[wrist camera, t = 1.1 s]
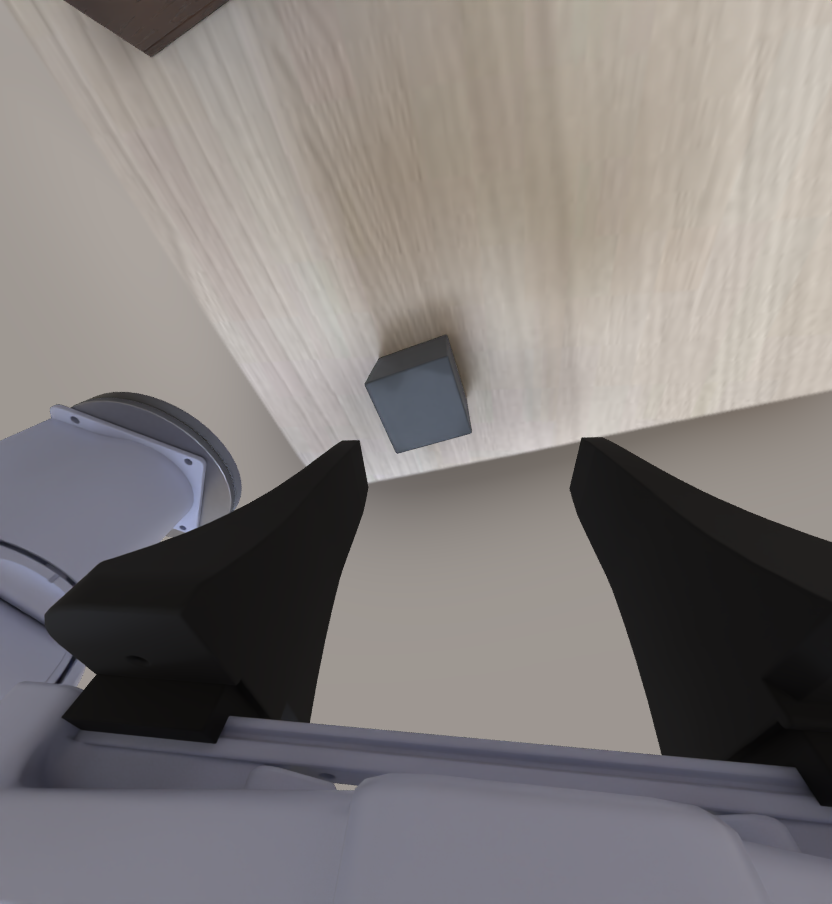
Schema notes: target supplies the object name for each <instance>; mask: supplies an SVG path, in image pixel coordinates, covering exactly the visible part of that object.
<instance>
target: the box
mask: <svg viewBox="0 0 832 904" xmlns="http://www.w3.org/2000/svg"><path fill="white" fill-rule="evenodd" d="M64 1H66V2H67V3H69V4H70V5H72V6H73V7H75V8H76V9H78V10H79V11H81V12H82V13H84V14H86V15H87V16H89V17H90V18H92V19H93V20H95V21H96V22H98V23H99V24H101V25H102V26H104V27H106V28H107V29H109V30H110V31H112V32H113V33H115V34H116V35H118V36H119V37H121V38H122V39H124V40H125V41H127V42H129V43H130V44H132V45H133V46H135V47H136V48H138V49H139V50H141V51H143V52H144V53H145V54H147V55H148V56H150V57H151V56H153V55H154V54H156V53H157V52H158V51H160V50H161V49H162V48H164V47H165V46H167V45H168V44H169V43H171V42H172V41H173V40H175V39H176V38H178V37H179V36H180V35H182V34H183V33H184V32H186V31H187V30H189V29H190V28H191V27H193V26H194V25H195V24H197V23H198V22H200V21H201V20H202V19H204V18H205V17H206V16H208V15H209V14H211V13H212V12H213V11H215V10H216V9H217V8H219V7H220V6H222V5H223V4H224V3H226V2H227V1H228V0H64Z"/></svg>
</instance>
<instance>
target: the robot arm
mask: <svg viewBox="0 0 832 904" xmlns="http://www.w3.org/2000/svg"><path fill="white" fill-rule="evenodd" d="M50 414H51V419H48V420H46V421H44V422H41V423H39V424H37V425H35V426H32V427H30V428H28V429H26V430H23V431H21V432H19V433H17V434H15V435H12V436H10V437H7V438H5V439H3V440H1V441H0V904H832V542H829V541H827V540H824V539H820V538H818V537H814V536H812V535H809V534H806V533H804V532H801V531H798V530H795V529H792V528H790V527H787V526H784V525H782V524H779V523H776V522H774V521H771V520H768V519H766V518H763V517H761V516H758V515H756V514H753V513H751V512H748V511H746V510H743V509H741V508H739V507H737V506H734V505H732V504H730V503H727V502H725V501H723V500H720V499H718V498H716V497H714V496H712V495H710V494H708V493H705V492H703V491H701V490H699V489H697V488H695V487H693V486H691V485H689V484H687V483H685V482H684V481H681V480H680V479H677V478H676V477H674V476H672V475H670V474H668V473H666V472H665V471H662V470H661V469H659V468H657V467H656V466H654V465H652V464H650V463H648V462H647V461H645V460H643V459H641V458H640V457H638V456H636V455H634V454H633V453H631V452H629V451H627V450H626V449H624V448H622V447H620V446H619V445H617V444H615V443H613V442H611V441H609V440H607V439H605V438H602V437H590V438H581V442H580V446H579V451H578V455H577V459H576V463H575V468H574V472H573V476H572V480H571V485H570V492H571V495H572V499H573V503H574V505H575V508H576V512H577V515H578V517H579V519H580V522H581V524H582V526H583V528H584V530H585V532H586V535H587V536H588V539H589V541H590V543H591V545H592V547H593V549H594V551H595V553H596V555H597V558H598V560H599V562H600V564H601V566H602V568H603V570H604V572H605V574H606V576H607V579H608V581H609V583H610V586H611V588H612V590H613V593H614V596H615V599H616V601H617V604H618V607H619V610H620V613H621V616H622V619H623V622H624V624H625V627H626V631H627V634H628V637H629V640H630V643H631V646H632V649H633V652H634V655H635V659H636V661H637V666H638V669H639V672H640V676H641V679H642V683H643V686H644V689H645V693H646V696H647V700H648V704H649V708H650V711H651V715H652V719H653V723H654V727H655V730H656V735H657V738H658V742H659V746H660V750H661V754H662V755H653V754H641V753H630V752H620V751H609V750H597V749H587V748H576V747H565V746H555V745H554V746H553V745H543V744H532V743H522V742H510V741H500V740H488V739H478V738H467V737H456V736H444V735H434V734H423V733H412V732H411V733H410V732H401V731H390V730H379V729H368V728H357V727H346V726H335V725H324V724H313V723H310V718H311V713H312V706H313V701H314V696H315V689H316V684H317V679H318V674H319V669H320V663H321V659H322V654H323V649H324V644H325V639H326V634H327V630H328V626H329V621H330V617H331V612H332V608H333V604H334V600H335V595H336V592H337V588H338V584H339V580H340V577H341V573H342V570H343V567H344V564H345V562H346V558H347V556H348V553H349V551H350V548H351V545H352V542H353V540H354V537H355V534H356V531H357V529H358V526H359V523H360V520H361V517H362V514H363V511H364V507H365V502H366V497H367V492H368V483H367V478H366V472H365V467H364V462H363V456H362V451H361V446H360V440H350V441H341V442H339V443H338V444H336V445H335V446H333V447H332V448H331V449H329V450H328V451H327V452H325V453H324V454H323V455H321V456H320V457H319V458H317V459H316V460H315V461H313V462H312V463H311V464H309V465H308V466H307V467H305V468H304V469H303V470H301V471H300V472H298V473H297V474H295V475H294V476H293V477H291V478H290V479H288V480H286V481H285V482H284V483H282V484H281V485H279V486H278V487H276V488H274V489H273V490H271V491H270V492H268V493H267V494H265V495H263V496H261V497H259V498H257V499H256V500H254V501H252V502H250V503H249V504H247V505H245V506H243V507H241V508H239V509H237V510H235V511H233V512H231V513H228V514H226V515H224V516H222V517H220V518H218V519H216V520H214V521H212V522H210V523H207V524H205V525H203V526H200V527H199V523H200V515H201V507H202V498H203V490H204V482H205V473H206V465H207V464H206V461H205V460H204V459H203V458H202V457H200V456H197V455H195V454H192V453H189V452H187V451H184V450H181V449H179V448H176V447H173V446H171V445H168V444H165V443H163V442H160V441H157V440H155V439H152V438H149V437H147V436H144V435H141V434H139V433H136V432H133V431H131V430H128V429H125V428H123V427H120V426H117V425H115V424H112V423H109V422H107V421H104V420H101V419H99V418H96V417H93V416H91V415H88V414H85V413H83V412H80V411H77V410H74V409H72V408H69V407H66V406H64V405H60V404H57V405H54V406H52V407H50ZM189 459H190V460H191V461H190V460H189ZM172 529H176V530H179V531H182V532H185V533H183V534H181V535H178V536H175V537H173V538H170V539H168V540H165V541H162V542H160V541H161V540H162V539H163V538H164V537H165V536H166V535H167V534H168V533H169V532H170V531H171V530H172ZM86 666H87V667H88V668H89V669H90V670H91V671H93V672H94V673H95V674H97V675H96V676H95V677H94V678H93V679H92V681H91V682H90V683H89V684H88V685H87V687H86V688H85V689H84V690H82V689H80V688H77V685H78V683H79V682H80V680H81V678H82V676H83V674H84V671H85V667H86ZM334 783H339V784H348V785H357V787H356V788H355V790H336V787H335V785H334Z"/></svg>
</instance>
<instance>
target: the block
mask: <svg viewBox="0 0 832 904" xmlns="http://www.w3.org/2000/svg"><path fill="white" fill-rule="evenodd" d="M365 387H366V389H367V391H368V393H369V395H370V398H371V400H372V402H373V404H374V406H375V408H376V411H377V413H378V415H379V417H380V419H381V421H382V424H383V426H384V428H385V430H386V432H387V434H388V437H389V439H390V441H391V443H392V445H393V447H394V450H395V452H396V453H397V454H398V453H402V452H405V451H409V450H412V449H416V448H420V447H423V446H427V445H431V444H434V443H438V442H441V441H445V440H449V439H452V438H456V437H460V436H463V435H467V434H470V433H472V429H471V423H470V417H469V411H468V404H467V399H466V396H465V392H464V389H463V386H462V382H461V379H460V376H459V372H458V369H457V366H456V363H455V359H454V356H453V353H452V349H451V346H450V343H449V339H448V336H447V335H443V336H441V337H438V338H435V339H432V340H429V341H427V342H424V343H421V344H418V345H415V346H413V347H410V348H407V349H404V350H401V351H398V352H396V353H393V354H390V355H387V356H384V357H382V358H379V359H378V361H377V363H376V364H375V366H374V368H373V370H372V371H371V373H370V375H369V377H368V379H367V380H366V382H365Z"/></svg>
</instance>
